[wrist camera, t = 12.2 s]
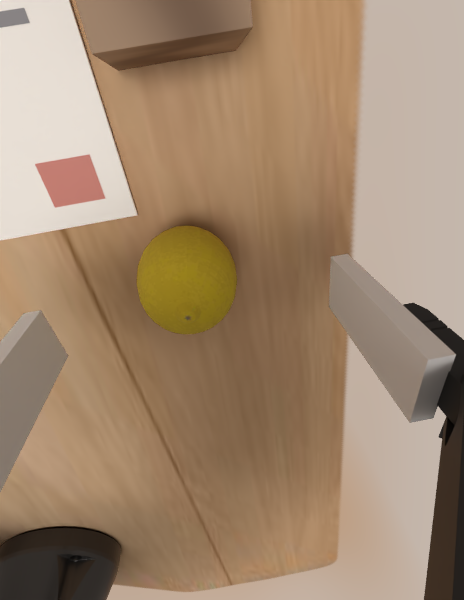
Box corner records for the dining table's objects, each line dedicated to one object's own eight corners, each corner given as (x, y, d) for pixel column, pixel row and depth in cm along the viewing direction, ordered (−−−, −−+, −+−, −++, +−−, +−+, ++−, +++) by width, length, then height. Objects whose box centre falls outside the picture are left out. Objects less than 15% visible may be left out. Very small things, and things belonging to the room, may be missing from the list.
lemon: (129, 256, 20) (100, 327, 13) (180, 191, 18) (176, 235, 12) (194, 299, 23) (197, 378, 16) (244, 245, 21) (272, 308, 14)
